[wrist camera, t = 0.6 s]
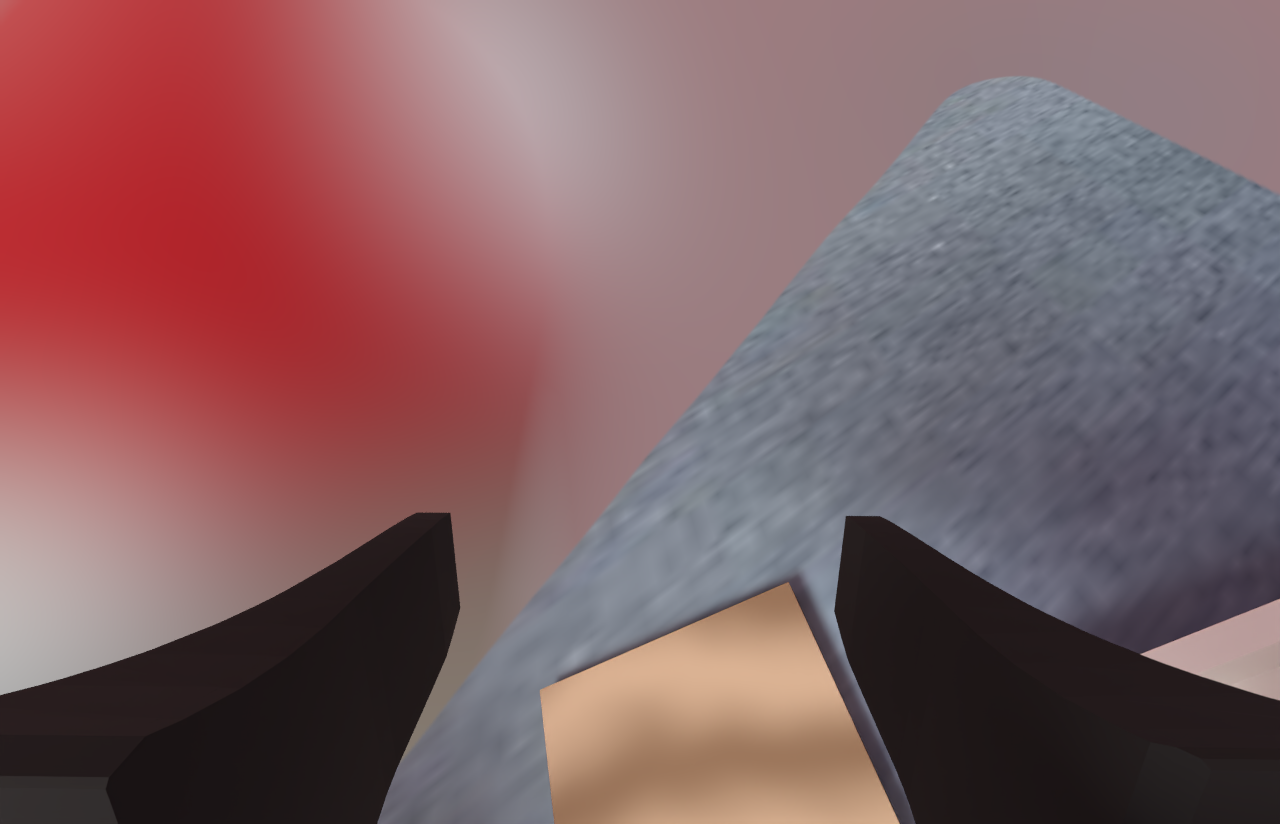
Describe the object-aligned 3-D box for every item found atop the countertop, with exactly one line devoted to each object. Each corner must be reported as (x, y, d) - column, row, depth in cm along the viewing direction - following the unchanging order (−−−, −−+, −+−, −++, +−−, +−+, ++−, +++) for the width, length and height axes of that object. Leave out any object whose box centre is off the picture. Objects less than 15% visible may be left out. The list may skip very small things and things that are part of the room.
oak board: (947, 926, 20) (944, 922, 19) (593, 1054, 21) (579, 1055, 21) (793, 592, 29) (788, 582, 28) (550, 698, 30) (539, 690, 30)
